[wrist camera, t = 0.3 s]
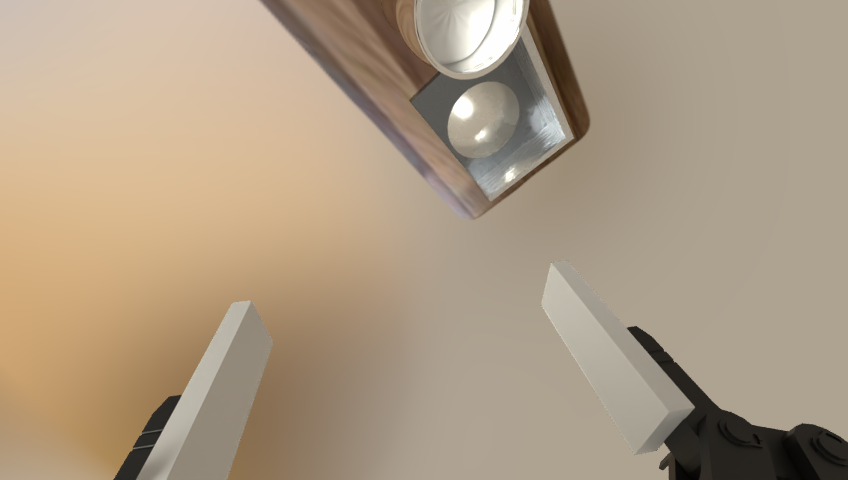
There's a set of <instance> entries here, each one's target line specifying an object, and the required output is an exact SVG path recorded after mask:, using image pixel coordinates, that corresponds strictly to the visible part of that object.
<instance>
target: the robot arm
mask: <svg viewBox="0 0 848 480" xmlns="http://www.w3.org/2000/svg"><path fill="white" fill-rule="evenodd" d="M541 306H542V308H543V309H544V311H545V313H546V314H547V316H548V317H549V319H550V320H551V322H552V324H553V325H554V327H555V328H556V330H557V332H558V333H559V335H560V336H561V338H562V340H563V341H564V343H565V345H566V346H567V348H568V349H569V351H570V353H571V354H572V356H573V357H574V359H575V361H576V362H577V364H578V365H579V367H580V368H581V370H582V372H583V373H584V375H585V377H586V378H587V380H588V381H589V383H590V385H591V386H592V388H593V389H594V391H595V392H596V394H597V396H598V397H599V399H600V401H601V402H602V404H603V405H604V407H605V409H606V410H607V412H608V413H609V415H610V417H611V418H612V420H613V421H614V423H615V424H616V426H617V428H618V429H619V431H620V433H621V434H622V436H623V437H624V439H625V441H626V442H627V444H628V445H629V447H630V449H631V450H632V452H633V453H634V455H637V454H642V453H647V452H653V451H657V450H658V448H659V447H660V446H661V445H662V444H663V443H665V444H666V446H667V447H668V449H669V450H670V451H671V452H670V453H669V454H668V455H667V456H666V457H665V458H664V459H663V460H662V461H661V463H660V466H659V469H661V470H664V469H665V468H666V467H667V466H668V465H669V480H848V442H846V441H845V440H844V439H842V438H841V437H839V436H838V435H836V434H834V433H832V432H830V431H828V430H827V429H824V428H821V427H818V426H816V425H813V424H803V423H802V424H801V425H798V426H796V427H794V428H793V429H792V430H790V431H783V430H777V429H772V428H766V427H760V426H755V425H751V424H750V423H749V422H747V421H746V420H745V419H743V418H742V417H739V416H738V415H736V414H734V413H732V412H728V411H725V410H721V409H720V408H719V407H718V406H717V405H716V404H715V403H713V402H712V401H711V399H710V398H709V397H708V396H707V395H706V394H705V393H704V392H703V391H702V390H701V389H700V388H699V387H698V385H696V383H695V382H694V381H693V380H692V379H691V378H690V377H689V376H688V375H687V374H686V373H685V372H684V371H683V369H682V368H681V367H680V366H679V365H678V364H677V363H676V362H674V361H673V359H672V358H671V357H670V355H669V354H668V353H667V352H664V349H663V348H662V347H661V346H660V345H659V344H658V343H657V342H656V340H655V339H654V338H652V336H650V335H649V334H647V333H646V332H644V331H643V330H641V329H640V328H638V327H637V326H634V327H628V328H625V326H624V325H623V324H622V323H621V322H620V320H619V319H618V318H617V317H616V316H615V315H614V313H613V312H612V311H611V310H610V309H609V308H608V307H607V306H606V304H605V303H604V302H603V301H602V300H601V299H600V297H599V296H598V295H597V294H596V293H595V292H594V291H593V289H592V288H591V287H590V286H589V285H588V284H587V283H586V282H585V280H584V279H583V278H582V277H581V276H580V274H579V273H578V272H577V271H576V270H575V269H574V268H573V266H571V264H570V263H569V262H568V261H567V260H566V261H558V262H551V266H550V270H549V274H548V278H547V282H546V286H545V290H544V294H543V299H542V303H541ZM272 345H273V341H272V339H271V337H270V335H269V333H268V331H267V329H266V327H265V325H264V324H263V321H262V320H261V318H260V316H259V314H258V312H257V310H256V308H255V306H254V304H253V302H252V301H244V302H235V303H232V305H231V307H230V308H229V310H228V312H227V314H226V316H225V318H224V319H223V321H222V323H221V325H220V327H219V329H218V330H217V333H216V334H215V336H214V338H213V340H212V342H211V343H210V345H209V347H208V349H207V350H206V352H205V354H204V356H203V358H202V360H201V361H200V363H199V365H198V367H197V369H196V371H195V373H194V374H193V376H192V378H191V380H190V382H189V384H188V385H187V387H186V389H185V391H184V393H183V395H178V396H171V397H168V398H167V399H166V400H165V402H164V403H163V404H162V405H161V406H160V407H159V408H158V409H157V410H156V411H155V412H154V413H153V414H152V417H151V418H150V420H149V421H148V423H147V425H146V426H145V428H144V430H143V431H142V435H141V436H139V438H138V440H137V441H136V443H135V445H134V446H133V450H132V451H131V452H130V453H129V455H128V456H127V458H126V460H125V461H124V463H123V465H122V466H121V468H120V470H119V471H118V473H117V475H116V477H115V478H114V480H227V478H228V475H229V472H230V469H231V466H232V463H233V460H234V457H235V454H236V451H237V448H238V445H239V442H240V440H241V437H242V434H243V431H244V427H245V425H246V422H247V419H248V416H249V413H250V410H251V407H252V404H253V401H254V398H255V395H256V392H257V389H258V386H259V383H260V380H261V377H262V375H263V371H264V369H265V366H266V363H267V360H268V357H269V354H270V351H271V348H272Z"/></svg>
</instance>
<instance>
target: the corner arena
mask: <svg viewBox="0 0 848 480" xmlns="http://www.w3.org/2000/svg"><path fill="white" fill-rule="evenodd" d="M409 101H410V102H411V103H412V105H413V106H414V107H415V108H416V109H417V111H418V112H419V113H420V114H421V116H422V117H423V118H424V119H425V120H426V122H427V123H428V124H429V125H430V126H431V128H432V129H433V130H434V131H435V132H436V134H437V135H438V136H439V137H440V139H441V140H442V141H443V142H444V143H445V145H446V146H447V147H448V148H449V149H450V151H451V152H452V153H453V154H454V156H455V157H456V158H457V159H458V160H459V162H460V163H461V164H462V165H463V166H464V168H465V169H466V170H467V171H468V173H469V174H470V175H471V176H472V177H473V179H474V180H475V181H476V182H477V184H478V185H479V186H480V188H481V189H482V191H483V192H484V193H485V195H486V196H487V197H488V199H489V200H490V201H492V200H494V199H495V198H496V197H498V196H499V195H500V194H501V193H503V192H504V191H505V190H507V189H508V188H509V187H511V186H512V185H513V184H515V183H516V182H517V181H518V180H520V179H521V178H522V177H524V176H525V175H526V174H528V173H529V172H530V171H532V170H533V169H534V168H535V167H537V166H538V165H539V164H541V163H542V162H543V161H545V160H546V159H547V158H549V157H550V156H551V155H552V154H554V153H555V152H556V151H558V150H559V149H560V148H562V147H563V146H564V145H566V144H567V143H568V142H569V141H571V140H572V139H573V138H574V137H573V134H572V132H571V130H570V127H569V125H568V122H567V120H566V118H565V115H564V113H563V110H562V108H561V106H560V103H559V101H558V98H557V96H556V94H555V91H554V89H553V86H552V84H551V82H550V79H549V77H548V74H547V72H546V70H545V67H544V65H543V62H542V60H541V58H540V55H539V53H538V50H537V48H536V46H535V43H534V41H533V38H532V36H531V34H530V31H529V29H528V26H527V24H526V22H525V25H524V28H523V31H522V33H521V36H520V38H519V40H518V42H517V43H516V45H515V47H514V48H513V50H512V51H511V53H510V54H509V55H508V57H507V58H506V59H505V60H504V61H503V62H502V63H501V64H500V65H499V66H498V67H496V68H495V69H494V70H492V71H491V72H489V73H487V74H485V75H483V76H481V77H478V78H474V79H468V80H460V79H454V78H451V77H448V76H446V75H444V74H442V73H441V72H438V73H437V74H436V75H435V76H434V77H433V78H432V79H431V80H430V81H429V82H428V83H427V84H426V85H424V86H423V87H422V88H421V89H420V90H419V91H418V92H417V93H416V94H415V95H414V96H413V97H412V98H411V99H410V100H409Z"/></svg>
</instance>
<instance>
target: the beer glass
mask: <svg viewBox="0 0 848 480" xmlns="http://www.w3.org/2000/svg"><path fill="white" fill-rule="evenodd" d="M380 1H381V6H382V9H383V12H384V15H385V17H386V19H387V20H388V22H389V23H390V25H391V26H392V27H393V28H394V29H395V30H396V31H398V32H399V33H400V35H401V37H402V39H403V41H404V42H405V44H406V45H407V46H408V48H409V49H410V50H411V51H412V52H413V53H414V54H415V55H416V56H417V57H418V58H419V59H420V60H421V61H423V62H424V63H426V64H427V65H429V66H430V67H432V68H434V69H436V70H438V71H439V72H441V73H442V74H444V75H446V76H448V77H451V78H454V79H460V80H468V79H474V78H478V77H481V76H483V75H485V74H487V73H489V72H491V71H492V70H494V69H495V68H496V67H498V66H499V65H500V64H501V63H502V62H503V61H504V60H505V59H506V58H507V57H508V55H509V54H510V53H511V51H512V50H513V48H514V47H515V45H516V43H517V42H518V40H519V38H520V36H521V33H522V31H523V28H524V25H525V22H526V18H527V14H528V8H529V0H380Z"/></svg>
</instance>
